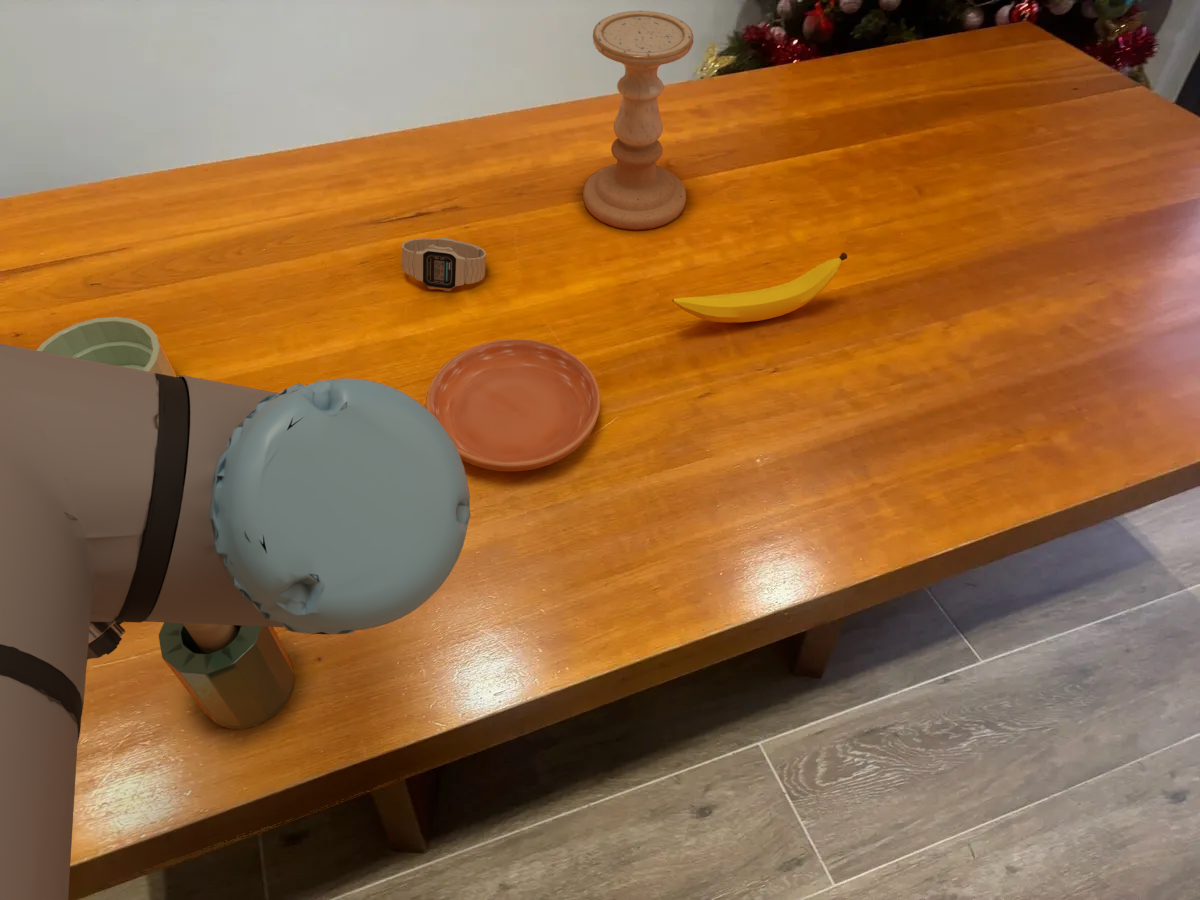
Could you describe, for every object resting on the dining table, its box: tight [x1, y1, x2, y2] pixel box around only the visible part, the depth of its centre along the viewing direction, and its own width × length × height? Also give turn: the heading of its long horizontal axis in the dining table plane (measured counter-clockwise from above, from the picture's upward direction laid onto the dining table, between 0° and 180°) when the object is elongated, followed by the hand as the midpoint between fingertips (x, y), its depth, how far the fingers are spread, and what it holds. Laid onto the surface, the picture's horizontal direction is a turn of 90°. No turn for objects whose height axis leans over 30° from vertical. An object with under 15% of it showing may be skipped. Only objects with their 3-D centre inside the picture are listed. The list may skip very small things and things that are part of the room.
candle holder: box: [582, 10, 694, 231], centre depth 100 cm, size 12×12×20 cm
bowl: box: [36, 316, 178, 377], centre depth 83 cm, size 11×11×6 cm
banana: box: [671, 252, 848, 323], centre depth 92 cm, size 3×19×6 cm, turn 108°
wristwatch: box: [401, 236, 487, 292], centre depth 97 cm, size 9×6×5 cm
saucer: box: [425, 338, 601, 472], centre depth 84 cm, size 16×16×3 cm
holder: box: [158, 622, 295, 730], centre depth 64 cm, size 7×7×9 cm
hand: (151, 546), depth 55 cm, fingers open, 13 cm apart
